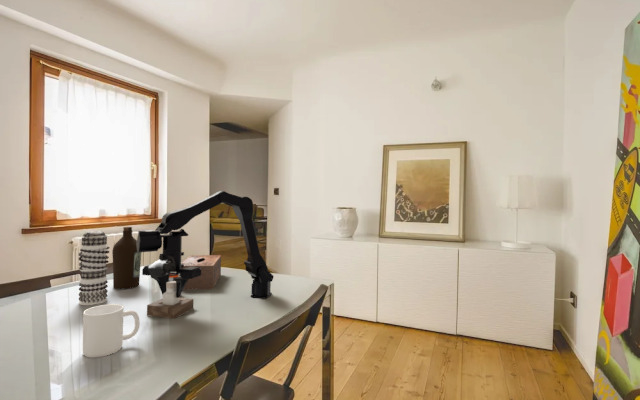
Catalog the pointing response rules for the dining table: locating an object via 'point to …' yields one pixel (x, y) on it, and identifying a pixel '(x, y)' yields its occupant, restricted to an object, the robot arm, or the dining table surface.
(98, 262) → the decorative candle
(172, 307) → the socket block
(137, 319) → the cup
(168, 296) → the salt shaker
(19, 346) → the dining table surface
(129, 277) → the olive oil
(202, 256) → the tissue box cover
